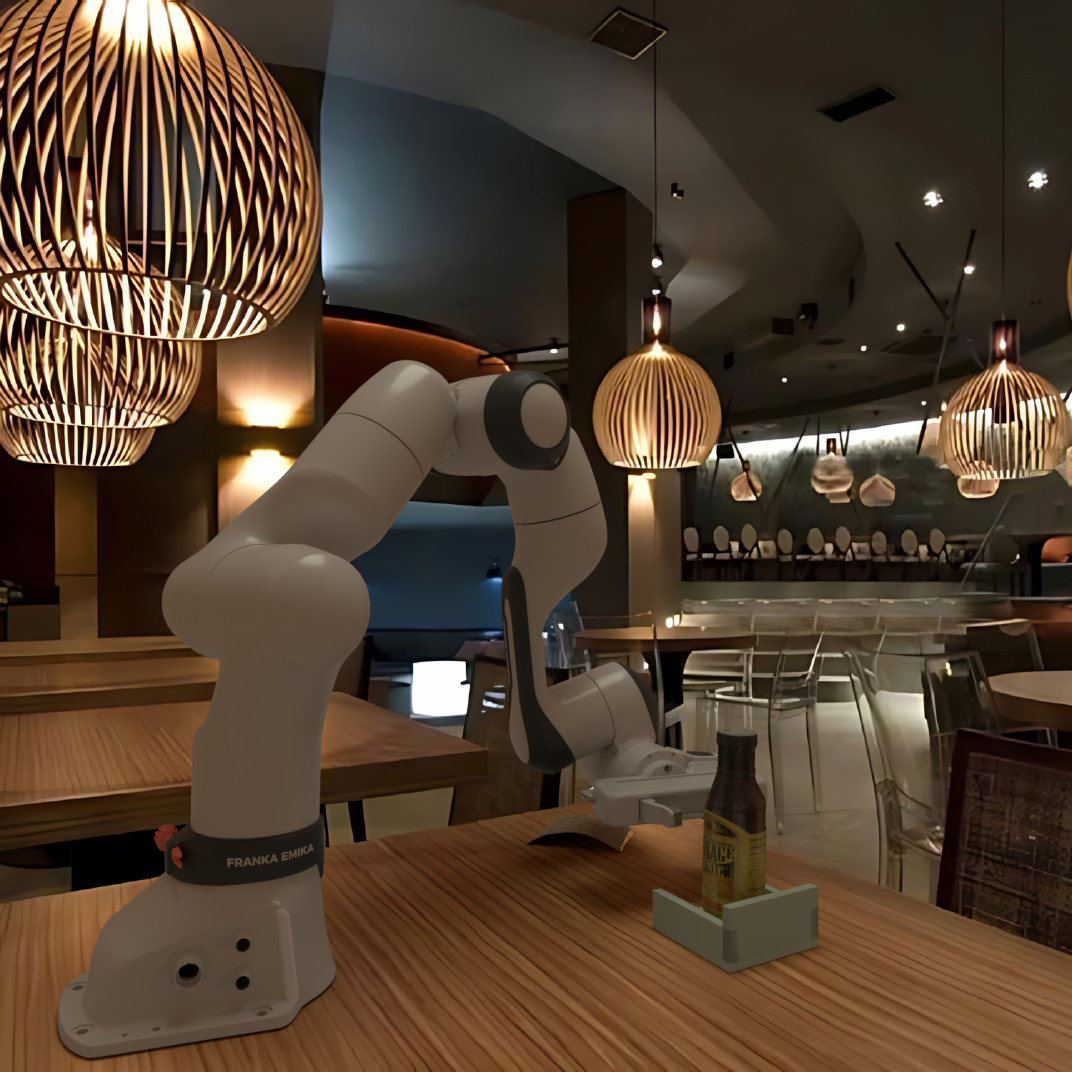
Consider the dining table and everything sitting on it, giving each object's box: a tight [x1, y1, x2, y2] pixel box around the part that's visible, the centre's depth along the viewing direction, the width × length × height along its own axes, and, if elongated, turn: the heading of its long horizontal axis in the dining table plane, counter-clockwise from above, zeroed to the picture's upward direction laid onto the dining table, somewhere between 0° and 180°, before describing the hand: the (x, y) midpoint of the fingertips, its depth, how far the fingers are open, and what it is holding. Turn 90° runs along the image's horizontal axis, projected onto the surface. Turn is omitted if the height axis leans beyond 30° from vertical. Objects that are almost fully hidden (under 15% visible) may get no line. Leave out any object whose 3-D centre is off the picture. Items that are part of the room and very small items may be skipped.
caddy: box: [652, 883, 819, 974], centre depth 88 cm, size 12×12×6 cm
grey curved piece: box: [526, 813, 633, 853], centre depth 119 cm, size 14×10×3 cm
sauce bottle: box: [701, 726, 767, 920], centre depth 88 cm, size 6×6×20 cm
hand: (716, 815), depth 91 cm, fingers open, 8 cm apart
